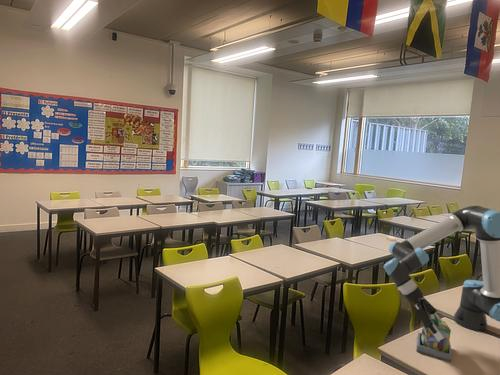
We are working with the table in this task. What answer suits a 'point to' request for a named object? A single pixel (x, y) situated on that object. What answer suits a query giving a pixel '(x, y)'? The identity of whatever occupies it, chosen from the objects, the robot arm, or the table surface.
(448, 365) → the table surface
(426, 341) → the chalk box
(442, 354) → the tray
